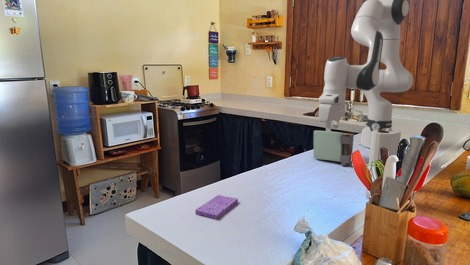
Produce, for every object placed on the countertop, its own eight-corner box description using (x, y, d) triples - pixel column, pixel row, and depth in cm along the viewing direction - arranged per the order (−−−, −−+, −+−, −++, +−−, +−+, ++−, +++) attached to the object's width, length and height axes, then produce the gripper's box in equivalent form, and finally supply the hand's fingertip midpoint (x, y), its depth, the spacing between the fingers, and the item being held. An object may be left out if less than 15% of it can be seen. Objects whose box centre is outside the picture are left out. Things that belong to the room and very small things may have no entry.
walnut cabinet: (325, 153, 149) (326, 126, 146) (359, 159, 139) (361, 130, 137) (312, 160, 138) (313, 131, 135) (348, 167, 128) (351, 136, 126)
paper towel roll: (363, 198, 98) (369, 131, 93) (369, 192, 102) (375, 128, 98) (387, 205, 93) (395, 134, 89) (393, 198, 98) (401, 131, 93)
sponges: (195, 215, 87) (195, 209, 87) (218, 199, 98) (218, 193, 98) (217, 221, 84) (216, 214, 83) (238, 203, 95) (238, 197, 94)
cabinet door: (316, 156, 140) (316, 130, 138) (352, 161, 131) (352, 132, 129) (312, 158, 137) (312, 131, 135) (349, 163, 128) (349, 134, 126)
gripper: (335, 94, 139) (333, 125, 142) (316, 98, 123) (314, 133, 126) (350, 95, 135) (347, 127, 138) (332, 99, 120) (329, 135, 123)
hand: (331, 130), depth 132 cm, fingers open, 6 cm apart
